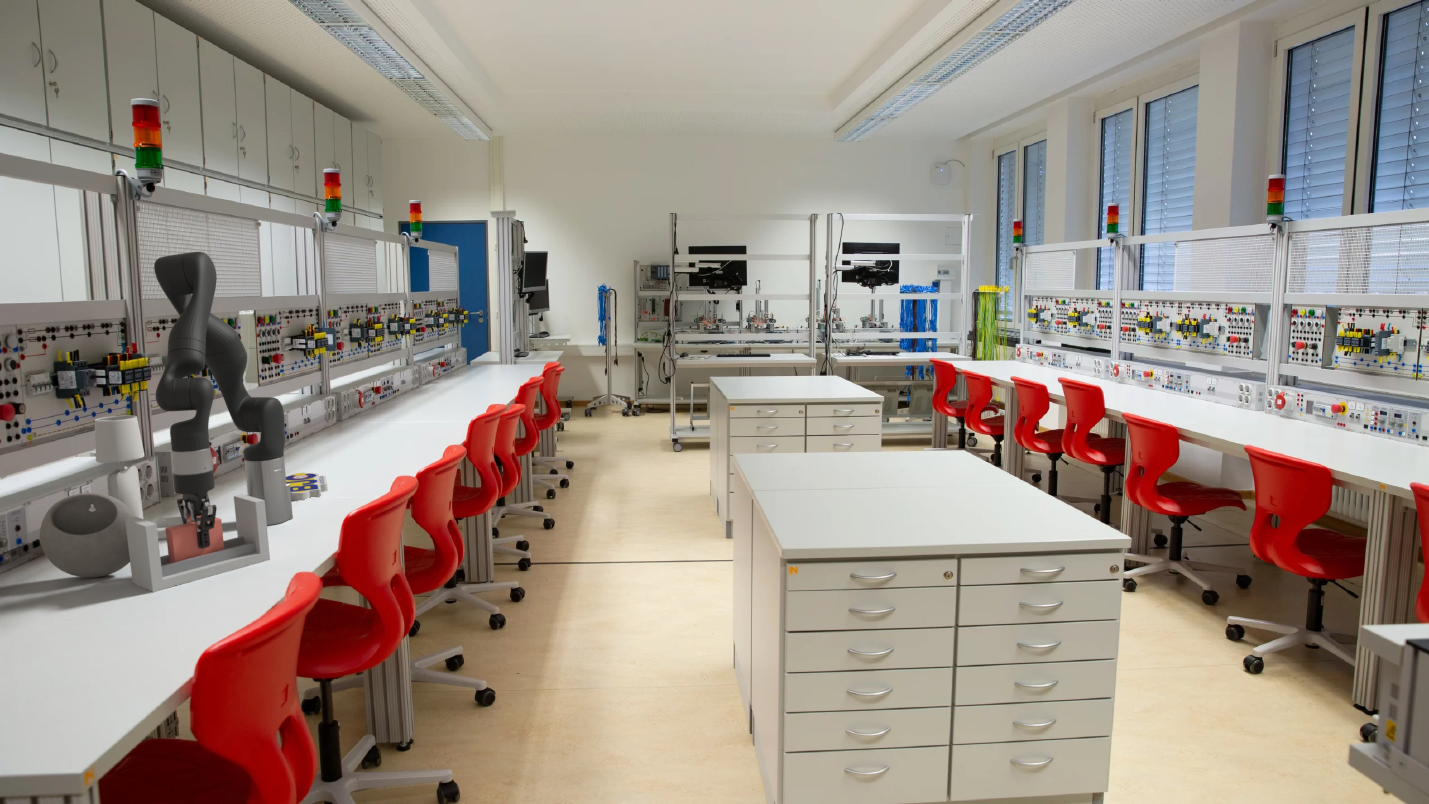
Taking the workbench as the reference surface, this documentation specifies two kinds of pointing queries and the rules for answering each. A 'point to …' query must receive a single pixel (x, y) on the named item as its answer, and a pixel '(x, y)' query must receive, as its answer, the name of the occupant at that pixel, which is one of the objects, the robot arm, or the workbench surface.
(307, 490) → the sign
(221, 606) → the workbench surface
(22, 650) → the workbench surface
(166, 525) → the wall lamp
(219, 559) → the u-shaped grey holder
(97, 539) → the planter
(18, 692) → the workbench surface
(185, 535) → the red rectangular block
